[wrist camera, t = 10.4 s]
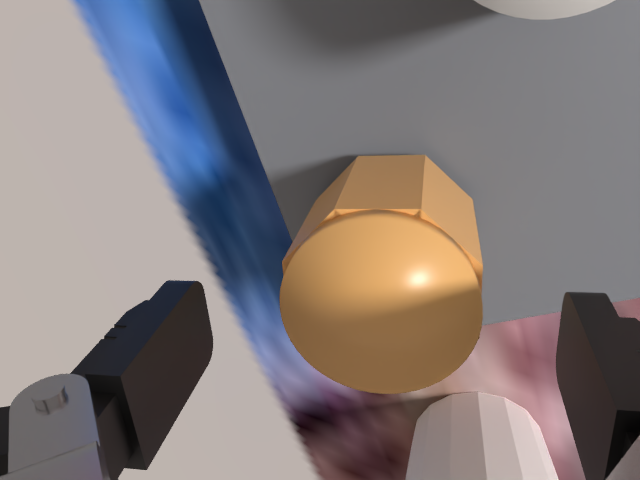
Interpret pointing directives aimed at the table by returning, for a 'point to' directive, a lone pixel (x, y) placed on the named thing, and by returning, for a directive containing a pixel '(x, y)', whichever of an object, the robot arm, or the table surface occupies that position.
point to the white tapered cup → (478, 441)
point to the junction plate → (460, 122)
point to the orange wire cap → (386, 277)
